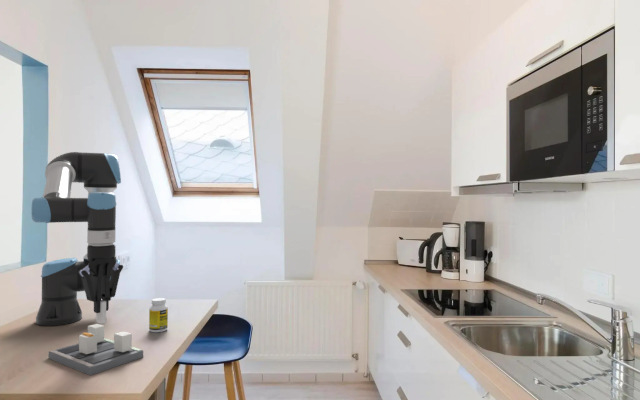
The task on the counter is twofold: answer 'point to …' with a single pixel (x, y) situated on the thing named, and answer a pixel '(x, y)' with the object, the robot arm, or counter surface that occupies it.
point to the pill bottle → (158, 315)
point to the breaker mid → (87, 343)
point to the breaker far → (97, 331)
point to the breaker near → (122, 341)
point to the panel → (94, 357)
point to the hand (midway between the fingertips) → (101, 322)
